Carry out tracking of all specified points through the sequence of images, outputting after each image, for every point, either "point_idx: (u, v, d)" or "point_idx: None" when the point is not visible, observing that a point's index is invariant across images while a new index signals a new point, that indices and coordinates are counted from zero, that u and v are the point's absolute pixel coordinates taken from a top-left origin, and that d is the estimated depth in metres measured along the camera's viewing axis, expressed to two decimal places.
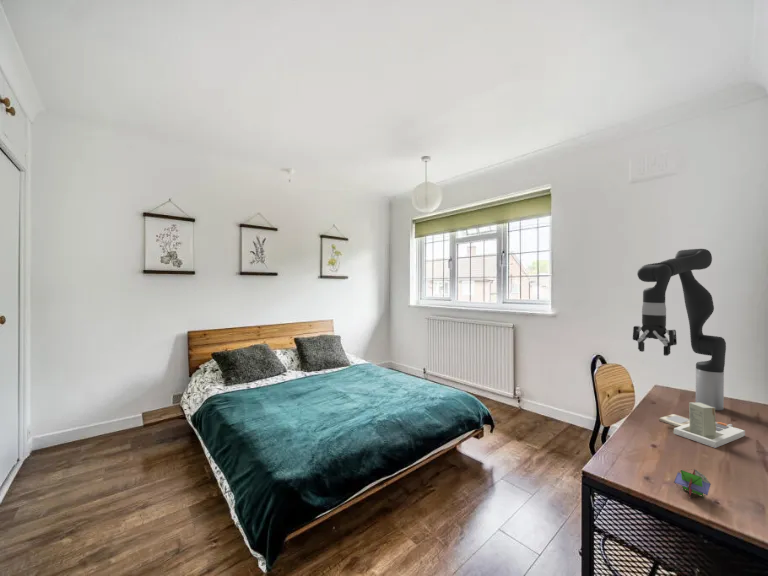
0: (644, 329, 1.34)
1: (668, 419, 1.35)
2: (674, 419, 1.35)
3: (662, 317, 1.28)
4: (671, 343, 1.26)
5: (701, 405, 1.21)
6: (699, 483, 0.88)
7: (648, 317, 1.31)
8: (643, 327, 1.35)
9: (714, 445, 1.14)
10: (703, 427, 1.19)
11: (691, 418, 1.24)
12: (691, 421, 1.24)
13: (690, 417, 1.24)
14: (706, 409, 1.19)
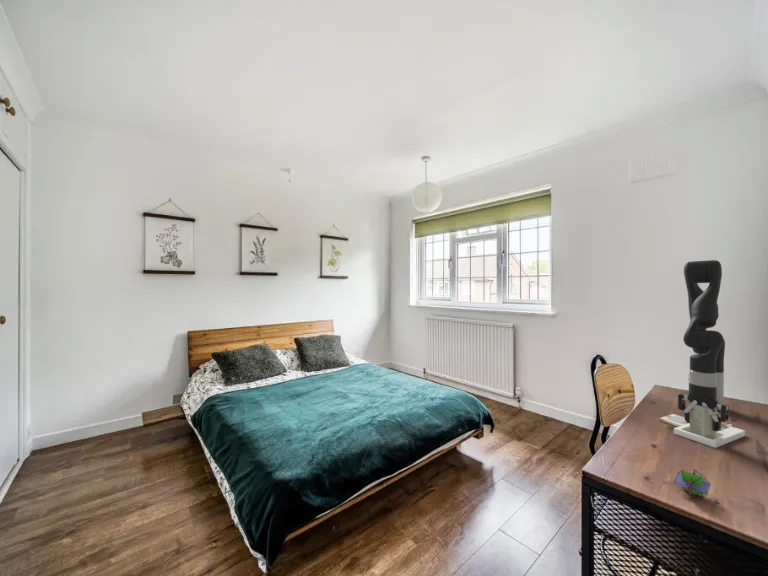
0: (691, 399, 1.24)
1: (668, 419, 1.35)
2: (674, 419, 1.35)
3: (713, 389, 1.18)
4: (723, 419, 1.15)
5: None
6: (699, 483, 0.88)
7: (697, 388, 1.20)
8: (690, 396, 1.24)
9: (714, 445, 1.14)
10: (703, 427, 1.19)
11: (691, 418, 1.24)
12: (691, 421, 1.24)
13: (690, 417, 1.24)
14: (706, 409, 1.19)
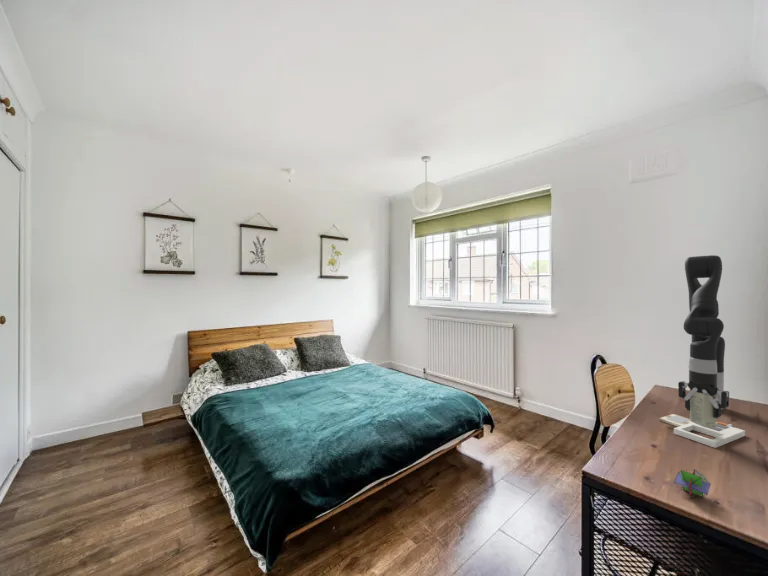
0: (691, 386, 1.24)
1: (668, 419, 1.35)
2: (674, 419, 1.35)
3: (713, 376, 1.18)
4: (723, 406, 1.15)
5: None
6: (699, 483, 0.88)
7: (697, 375, 1.20)
8: (690, 384, 1.24)
9: (714, 445, 1.14)
10: (703, 414, 1.19)
11: (691, 405, 1.24)
12: (691, 408, 1.24)
13: (690, 404, 1.24)
14: (706, 396, 1.19)
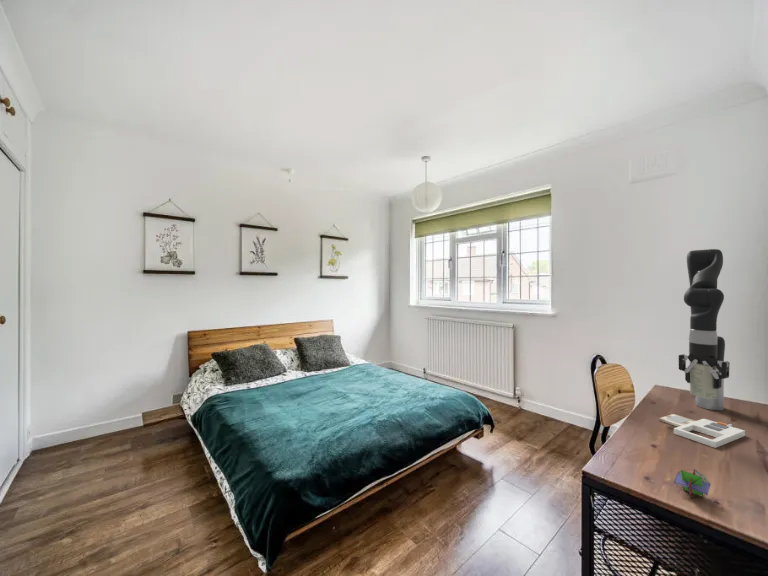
0: (691, 358, 1.23)
1: (668, 419, 1.35)
2: (674, 419, 1.35)
3: (713, 346, 1.18)
4: (723, 376, 1.15)
5: (702, 364, 1.21)
6: (699, 483, 0.88)
7: (697, 346, 1.20)
8: (690, 356, 1.24)
9: (714, 445, 1.14)
10: (703, 385, 1.19)
11: (692, 378, 1.24)
12: (692, 381, 1.24)
13: (691, 377, 1.24)
14: (707, 367, 1.18)
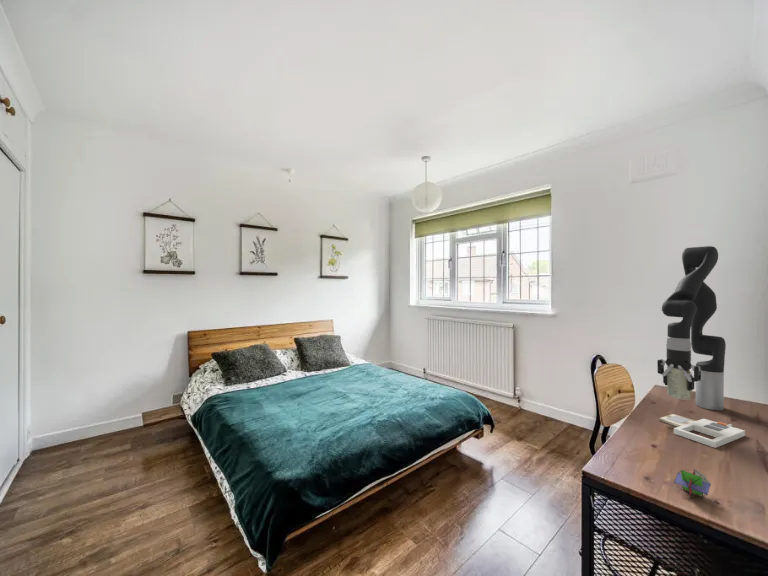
0: (668, 363, 1.37)
1: (668, 419, 1.35)
2: (674, 419, 1.35)
3: (687, 352, 1.31)
4: (695, 379, 1.29)
5: (677, 368, 1.34)
6: (699, 483, 0.88)
7: (673, 352, 1.33)
8: (667, 361, 1.37)
9: (714, 445, 1.14)
10: (678, 387, 1.32)
11: (668, 380, 1.37)
12: (668, 383, 1.37)
13: (668, 379, 1.37)
14: (681, 371, 1.32)
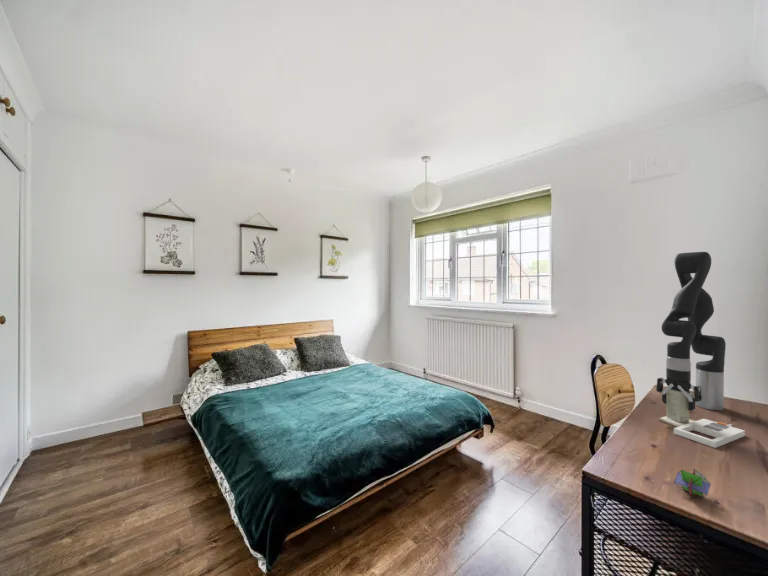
0: (668, 382, 1.37)
1: (668, 419, 1.35)
2: None
3: (687, 373, 1.31)
4: (696, 399, 1.28)
5: None
6: (699, 483, 0.88)
7: (673, 372, 1.33)
8: (667, 380, 1.37)
9: (714, 445, 1.14)
10: (678, 409, 1.33)
11: (668, 402, 1.37)
12: (668, 405, 1.37)
13: (667, 401, 1.38)
14: (680, 393, 1.32)
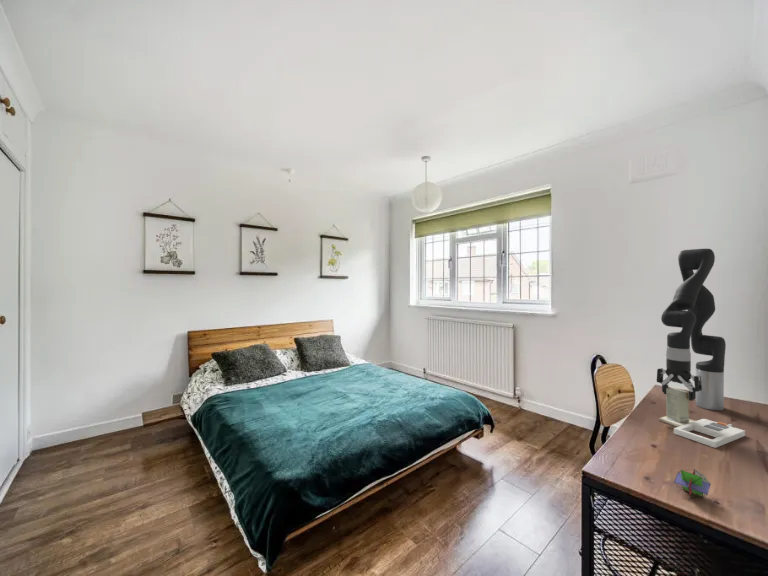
0: (668, 373, 1.37)
1: (668, 419, 1.35)
2: None
3: (687, 363, 1.31)
4: (696, 389, 1.28)
5: (676, 390, 1.35)
6: (699, 483, 0.88)
7: (673, 362, 1.33)
8: (667, 371, 1.37)
9: (714, 445, 1.14)
10: (677, 409, 1.33)
11: (668, 402, 1.37)
12: (668, 405, 1.37)
13: (667, 401, 1.38)
14: (680, 393, 1.32)
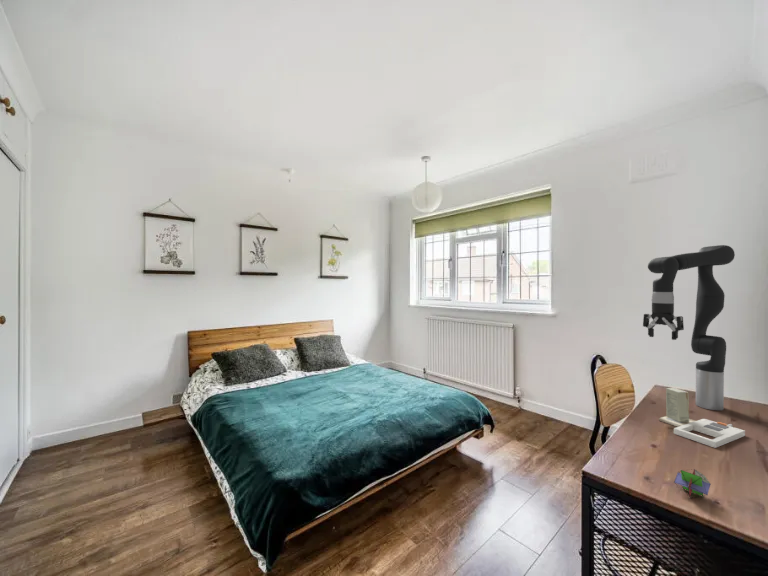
0: (654, 316, 1.47)
1: (668, 419, 1.35)
2: None
3: (670, 305, 1.42)
4: (679, 328, 1.39)
5: (676, 390, 1.35)
6: (699, 483, 0.88)
7: (657, 305, 1.44)
8: (653, 314, 1.48)
9: (714, 445, 1.14)
10: (677, 409, 1.33)
11: (667, 402, 1.37)
12: (667, 405, 1.37)
13: (667, 401, 1.38)
14: (680, 393, 1.32)
